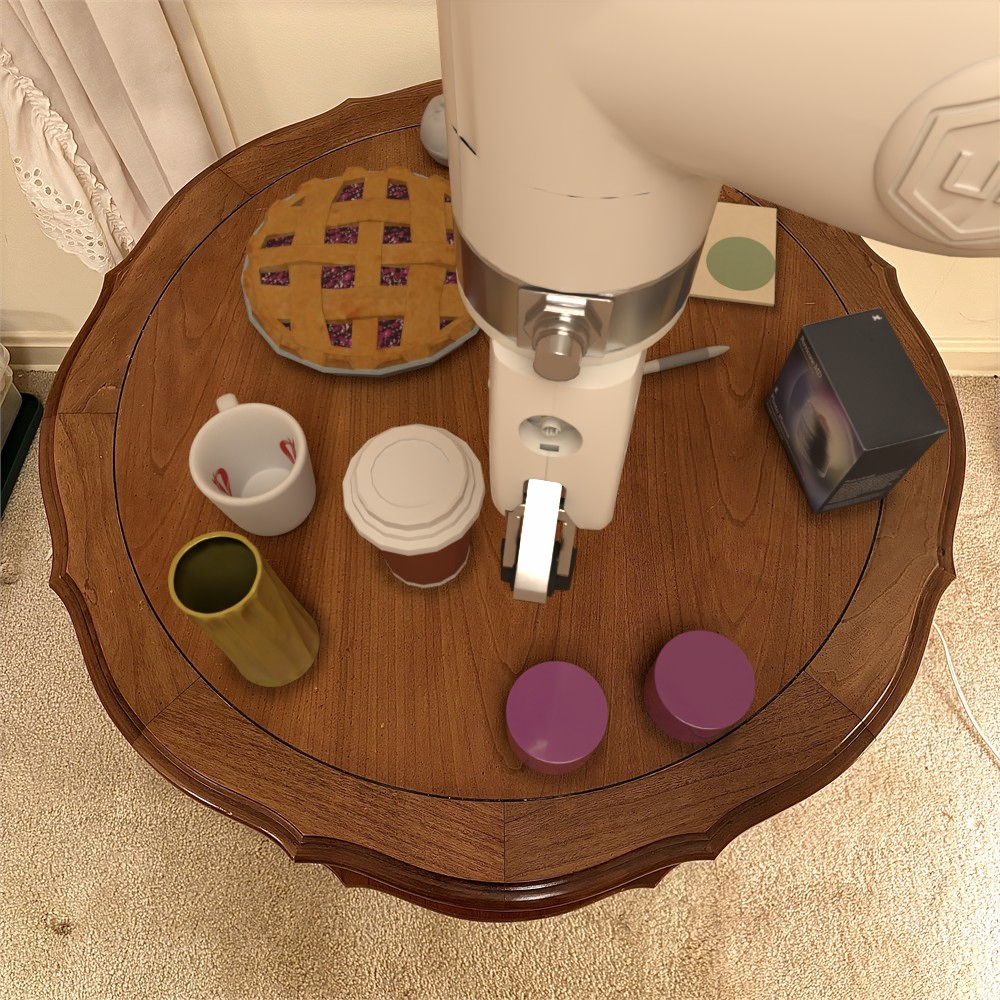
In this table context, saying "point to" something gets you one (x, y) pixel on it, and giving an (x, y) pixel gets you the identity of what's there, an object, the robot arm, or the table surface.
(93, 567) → the table surface
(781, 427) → the small box
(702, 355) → the pen
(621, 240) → the robot arm
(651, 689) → the purple cylinder puck
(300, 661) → the vase
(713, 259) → the placemat
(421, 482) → the coffee cup
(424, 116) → the figurine
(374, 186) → the pie
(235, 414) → the cup
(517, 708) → the purple short cylinder
